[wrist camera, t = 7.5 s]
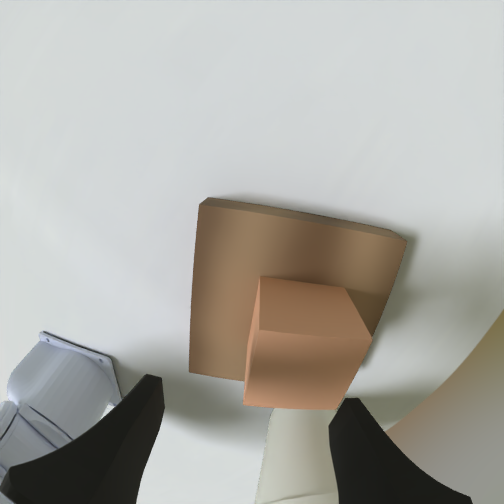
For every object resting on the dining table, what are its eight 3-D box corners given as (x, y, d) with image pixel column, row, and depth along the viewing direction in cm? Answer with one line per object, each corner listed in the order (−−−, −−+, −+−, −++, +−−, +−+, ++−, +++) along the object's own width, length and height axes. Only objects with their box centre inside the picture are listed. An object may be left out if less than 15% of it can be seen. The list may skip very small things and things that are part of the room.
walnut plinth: (196, 346, 21) (189, 372, 18) (209, 196, 17) (199, 204, 14) (338, 363, 21) (346, 387, 18) (387, 227, 17) (407, 241, 14)
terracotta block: (247, 345, 17) (243, 404, 12) (259, 276, 15) (259, 329, 10) (321, 352, 17) (336, 409, 12) (344, 287, 15) (372, 339, 10)
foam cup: (306, 370, 21) (328, 517, 8) (366, 404, 22) (397, 512, 10) (235, 418, 23) (223, 534, 11) (298, 444, 25) (305, 540, 13)
